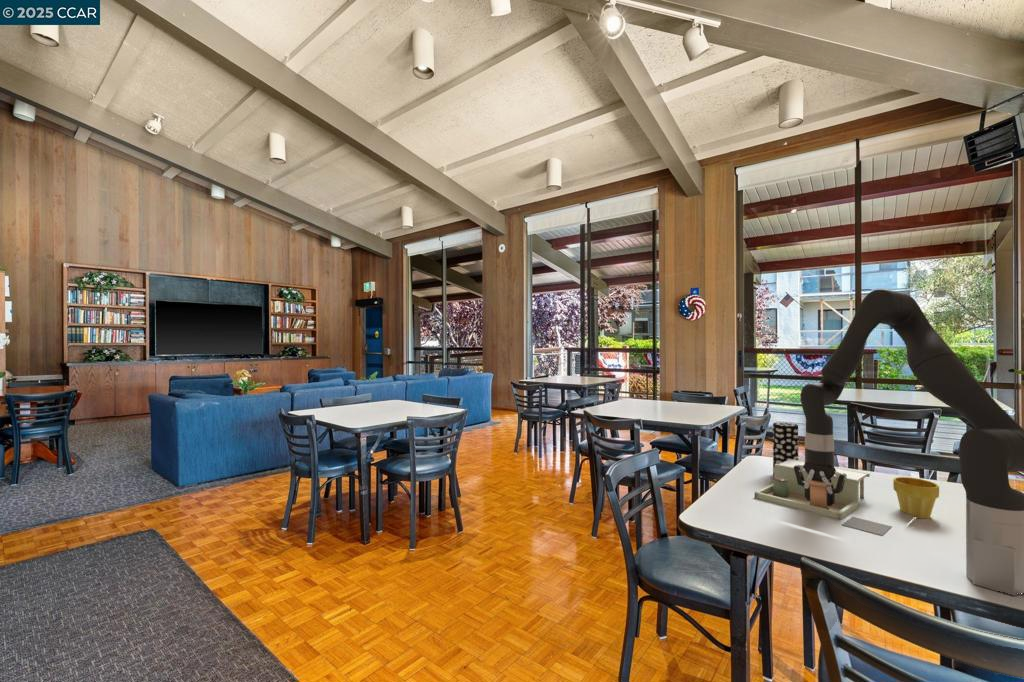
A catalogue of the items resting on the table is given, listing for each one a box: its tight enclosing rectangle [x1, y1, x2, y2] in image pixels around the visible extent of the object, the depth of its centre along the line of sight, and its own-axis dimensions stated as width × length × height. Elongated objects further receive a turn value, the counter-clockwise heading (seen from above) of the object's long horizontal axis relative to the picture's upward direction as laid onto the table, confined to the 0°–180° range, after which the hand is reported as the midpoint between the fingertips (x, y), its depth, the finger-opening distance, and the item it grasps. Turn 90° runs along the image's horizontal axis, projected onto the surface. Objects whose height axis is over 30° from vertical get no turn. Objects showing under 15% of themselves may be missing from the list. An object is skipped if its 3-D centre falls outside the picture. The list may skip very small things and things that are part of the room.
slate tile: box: [841, 516, 893, 537], centre depth 127 cm, size 9×9×1 cm
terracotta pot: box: [808, 478, 830, 509], centre depth 142 cm, size 6×6×10 cm
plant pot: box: [892, 476, 940, 519], centre depth 137 cm, size 10×10×10 cm
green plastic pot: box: [772, 477, 789, 497], centre depth 153 cm, size 4×4×5 cm
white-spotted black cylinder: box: [772, 421, 799, 475], centre depth 176 cm, size 8×8×20 cm
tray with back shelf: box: [754, 459, 871, 520], centre depth 150 cm, size 28×24×9 cm
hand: (819, 502), depth 142 cm, fingers closed on terracotta pot, 5 cm apart
